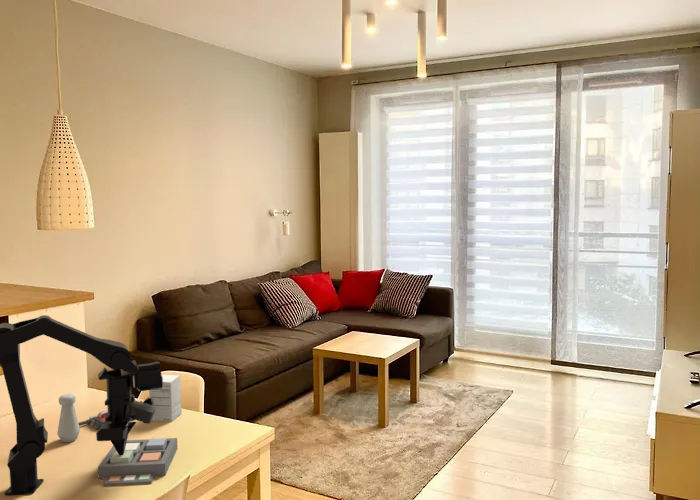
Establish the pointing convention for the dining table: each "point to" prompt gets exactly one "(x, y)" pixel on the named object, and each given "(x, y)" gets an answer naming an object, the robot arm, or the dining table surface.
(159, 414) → the supplement box
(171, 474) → the dining table surface
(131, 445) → the key offwhite
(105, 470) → the keypad
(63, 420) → the salt shaker
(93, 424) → the walkie-talkie
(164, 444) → the key slate
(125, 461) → the key sage
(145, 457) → the key terracotta
